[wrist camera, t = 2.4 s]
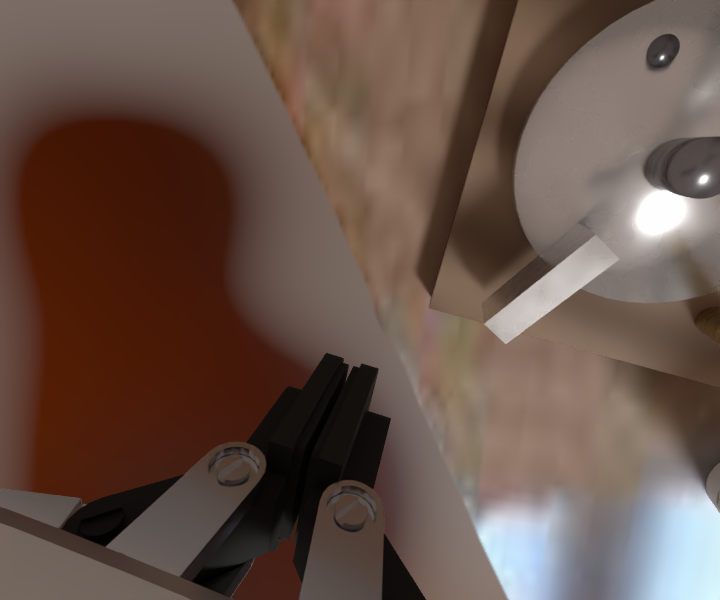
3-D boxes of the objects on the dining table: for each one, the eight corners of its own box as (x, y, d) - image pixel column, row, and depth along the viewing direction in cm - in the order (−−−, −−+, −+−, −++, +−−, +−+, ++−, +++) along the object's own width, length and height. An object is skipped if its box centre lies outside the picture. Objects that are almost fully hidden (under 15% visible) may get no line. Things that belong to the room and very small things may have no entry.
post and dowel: (622, 155, 20) (676, 158, 15) (675, 128, 19) (751, 121, 14) (698, 337, 22) (767, 392, 17) (749, 320, 21) (837, 374, 16)
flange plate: (706, -87, 16) (788, -165, 12) (915, 150, 17) (1055, 151, 13) (408, 225, 24) (398, 241, 20) (566, 376, 25) (586, 421, 21)
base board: (551, -118, 18) (561, -147, 17) (1003, -70, 16) (1073, -99, 14) (431, 297, 27) (428, 308, 26) (707, 371, 25) (726, 389, 23)
